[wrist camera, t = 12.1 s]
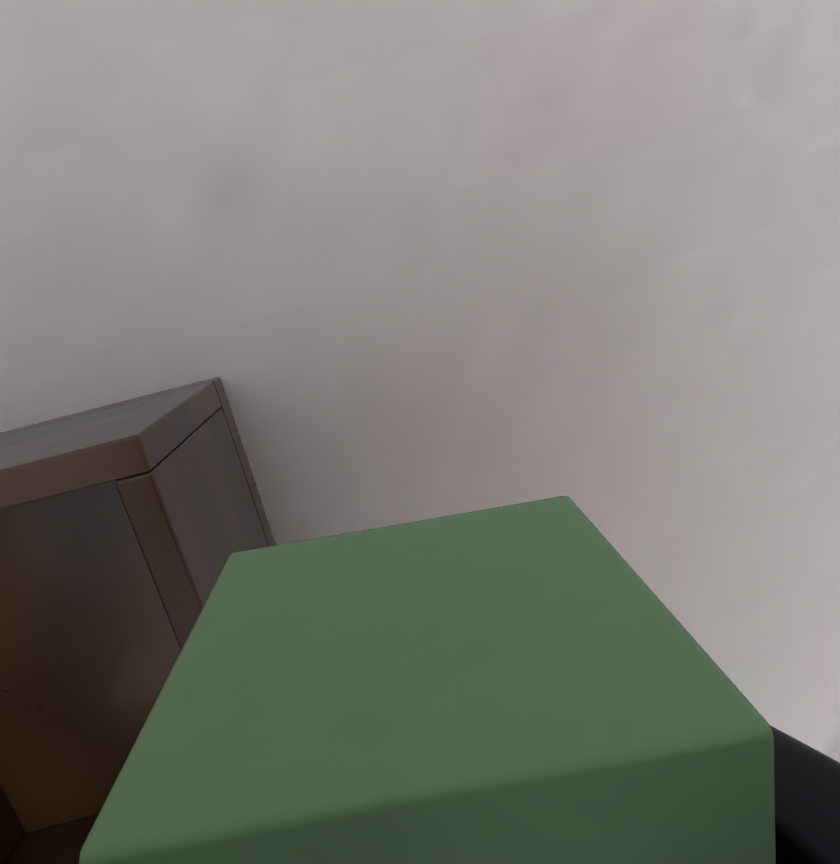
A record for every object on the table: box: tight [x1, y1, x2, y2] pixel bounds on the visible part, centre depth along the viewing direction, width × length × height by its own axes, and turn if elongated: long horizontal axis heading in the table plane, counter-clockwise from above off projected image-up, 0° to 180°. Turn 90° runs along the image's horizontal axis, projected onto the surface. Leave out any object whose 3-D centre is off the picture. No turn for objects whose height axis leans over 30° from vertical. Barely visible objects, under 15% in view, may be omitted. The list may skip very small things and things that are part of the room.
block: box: [79, 496, 776, 864], centre depth 7 cm, size 4×4×4 cm
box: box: [0, 377, 276, 864], centre depth 16 cm, size 10×12×6 cm
